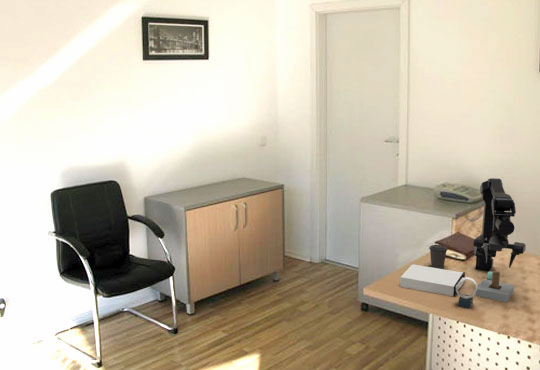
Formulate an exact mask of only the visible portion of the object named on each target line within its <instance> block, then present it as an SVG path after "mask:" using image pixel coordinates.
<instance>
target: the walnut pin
mask: <svg viewBox="0 0 540 370" xmlns="http://www.w3.org/2000/svg"><path fill="white" fill-rule="evenodd" d="M492 272H493V273H492V286H491V288H493V289H498V290H499V282H500V278H501V277H500V276H501V273H500V272H501V271H492Z"/></svg>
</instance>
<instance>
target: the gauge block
mask: <svg viewBox="0 0 540 370" xmlns="http://www.w3.org/2000/svg"><path fill="white" fill-rule="evenodd" d="M477 286H478V289H477V291H476V293H475V295H476V296H475V297H479V296H480V297H479V298H484V297H485V298H484V299H488V298H489V300H494V301H498V302H504V303H508V302H509V300H510V298H511V297H512V295H513V294H514V291H515V290H514V289H515V284H511V283H507V282H501V281H499V290H498V289H493V288H491V286H492V281H490V280H487V279H485V278H484V279H482V281H481V282H480V283H479V284H478V285H477Z"/></svg>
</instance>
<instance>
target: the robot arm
mask: <svg viewBox="0 0 540 370" xmlns="http://www.w3.org/2000/svg"><path fill="white" fill-rule="evenodd" d="M503 185H504V184H503V181H502V179H501V178H488V179H487V180H485V181H483V182H481V184H480V188H479V193H480V197H481V198H482V200H483V212H482V213H483V215H482V227H481V234H480V235H478V236H476V237H475V238H474V240H473V243H472V244H473V245H472V246H473V253H474V256H475V257H476V258H475V267H474V268H473V269H474V270H478V271H483V272H487V273H488V272H490V271H491V270H492V269H493V268H494V259H493V258H496V256H497V252H502V251H503V249H509V250H511V252H510V258H509V259H510V260H509V262H508V263H509V264H508V268H509V269H510V268H512V265H513V263H514V261H515V258H516V257H517V256H520V254H521V255H523V254H524V253H525V252H526V248H527V247H526V244H525V243H523V242H516V241H515V242H514V243H512V244H511V243H509V239H508V237H509V235H511V234H513V233H514V231H515V224H514V223H513V221H512V220H511V217H515V215H516V203H515V202H514V199H513V198H512V196H511V195H510V194H509V193H506V191H505V188H504V186H503Z"/></svg>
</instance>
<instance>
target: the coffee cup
mask: <svg viewBox="0 0 540 370" xmlns="http://www.w3.org/2000/svg"><path fill="white" fill-rule="evenodd" d="M428 249H429V252H430V264H431V265H430V267H432V268H438V269H444V267H445V262H446V255H447V251H448V247H447V246H445V245H442V244H432V245H430V246H429V248H428Z"/></svg>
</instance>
